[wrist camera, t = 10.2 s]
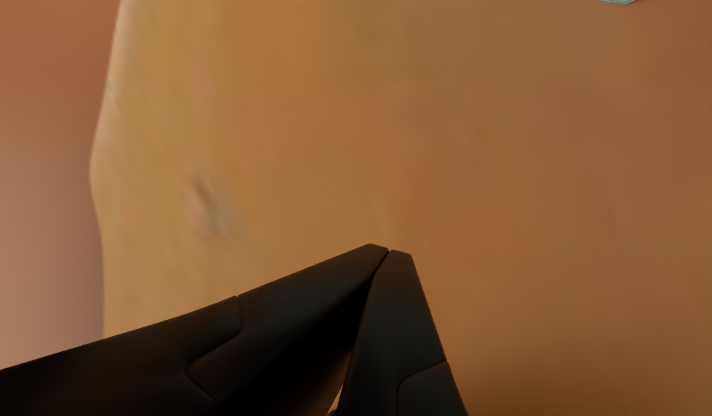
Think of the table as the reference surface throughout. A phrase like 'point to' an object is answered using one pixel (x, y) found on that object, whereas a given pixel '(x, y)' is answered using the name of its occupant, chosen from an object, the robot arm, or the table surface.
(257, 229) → the table surface
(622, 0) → the sage green storage tray
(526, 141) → the table surface
